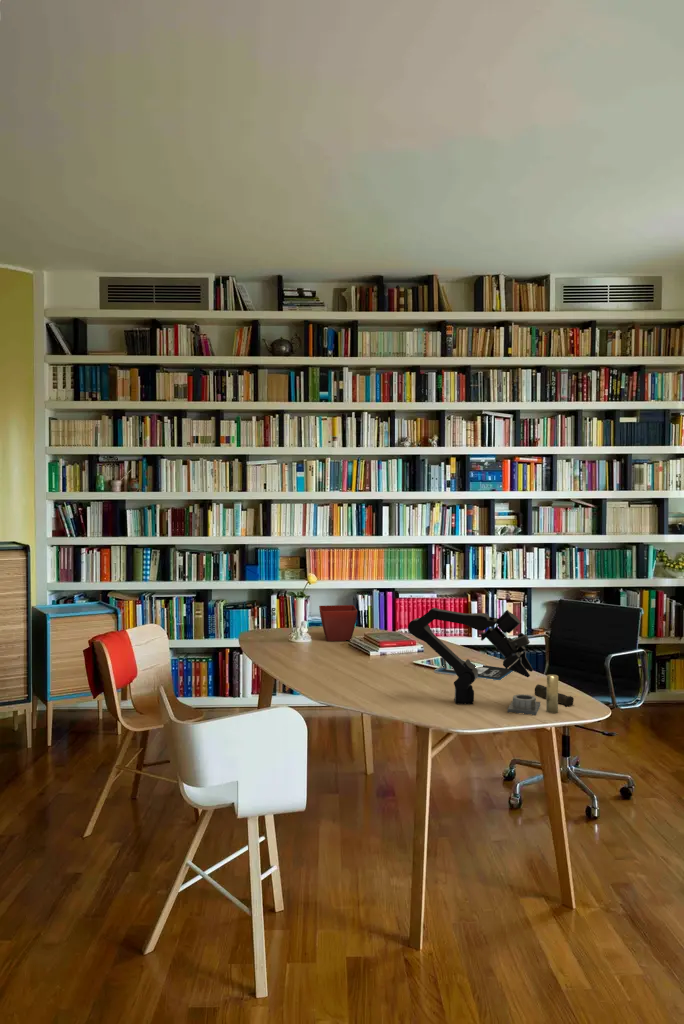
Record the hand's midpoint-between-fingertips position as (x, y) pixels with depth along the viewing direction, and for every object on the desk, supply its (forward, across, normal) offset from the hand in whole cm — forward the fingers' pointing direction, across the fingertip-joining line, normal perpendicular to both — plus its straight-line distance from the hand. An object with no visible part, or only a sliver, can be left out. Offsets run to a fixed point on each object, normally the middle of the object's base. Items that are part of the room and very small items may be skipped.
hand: (530, 673), depth 281 cm
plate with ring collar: (+8, 0, +11) cm, 13 cm away
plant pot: (-71, +96, +89) cm, 149 cm away
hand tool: (+14, +15, +6) cm, 21 cm away
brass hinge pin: (+15, 0, +4) cm, 15 cm away
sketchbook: (-12, +51, +31) cm, 61 cm away
